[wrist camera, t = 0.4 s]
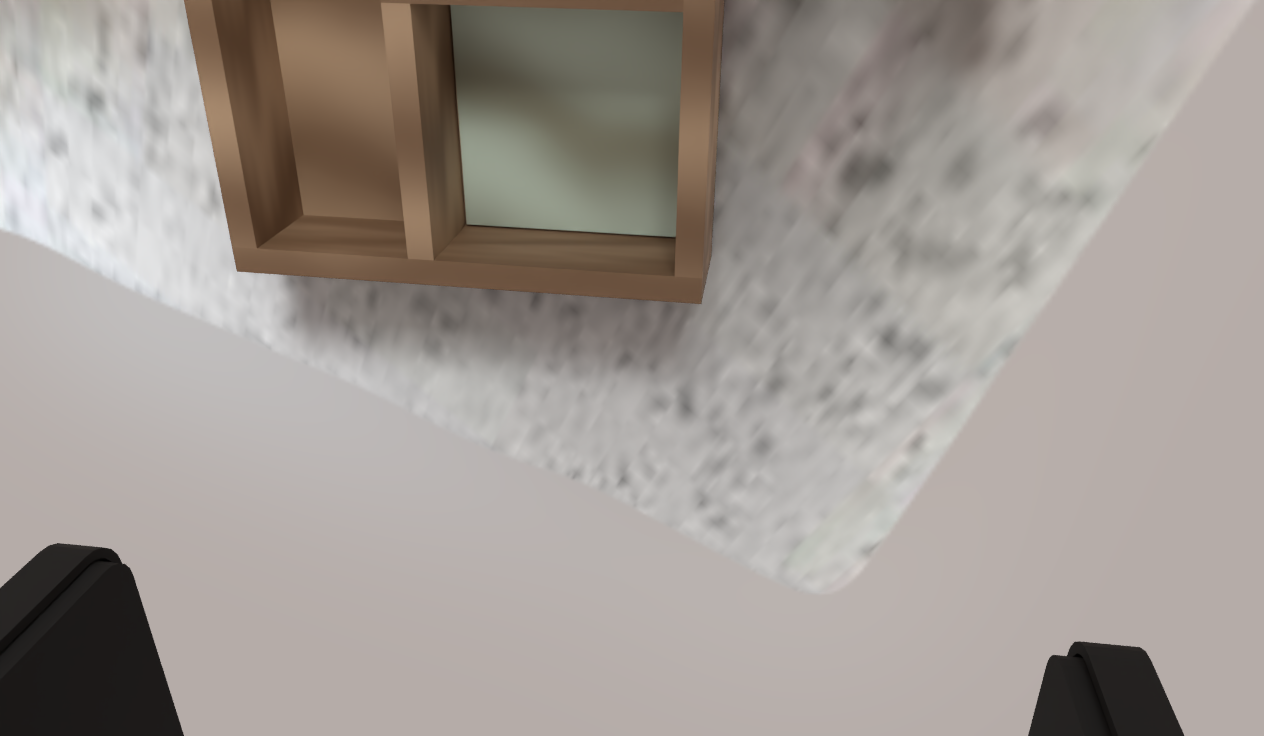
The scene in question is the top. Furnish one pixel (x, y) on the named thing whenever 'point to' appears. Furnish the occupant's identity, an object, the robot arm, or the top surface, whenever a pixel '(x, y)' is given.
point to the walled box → (468, 140)
